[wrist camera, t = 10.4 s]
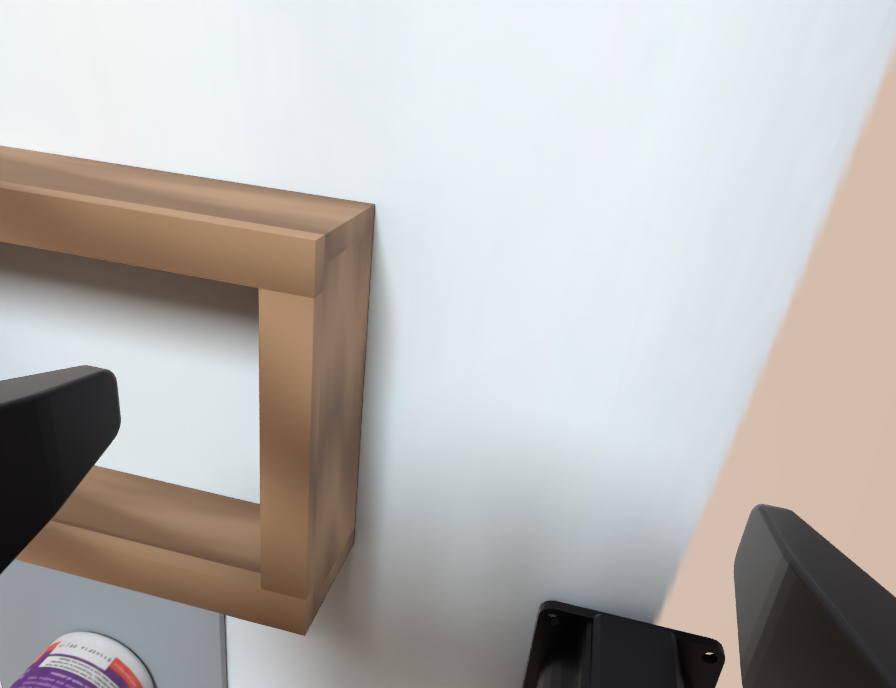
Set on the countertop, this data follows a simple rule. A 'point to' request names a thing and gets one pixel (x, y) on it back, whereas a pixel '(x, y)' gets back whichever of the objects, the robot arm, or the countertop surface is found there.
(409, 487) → the countertop surface
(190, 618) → the mat
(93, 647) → the pill bottle
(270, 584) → the slot box
